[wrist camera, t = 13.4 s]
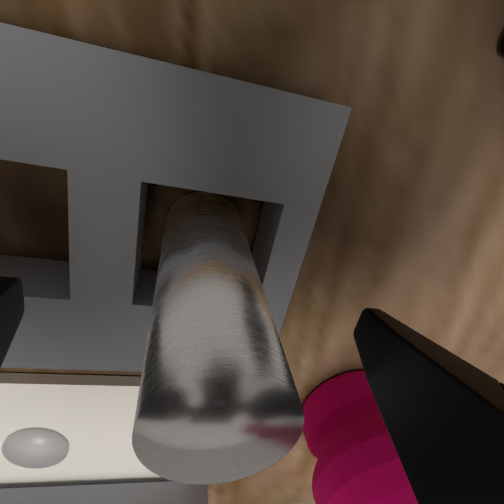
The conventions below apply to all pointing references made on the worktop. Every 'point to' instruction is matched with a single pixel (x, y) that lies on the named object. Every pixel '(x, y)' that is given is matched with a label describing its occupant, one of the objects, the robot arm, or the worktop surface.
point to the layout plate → (68, 430)
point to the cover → (109, 494)
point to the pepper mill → (352, 446)
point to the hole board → (136, 183)
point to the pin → (212, 356)
